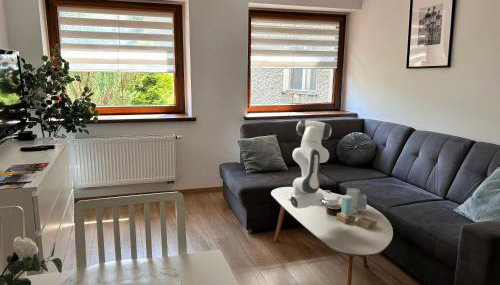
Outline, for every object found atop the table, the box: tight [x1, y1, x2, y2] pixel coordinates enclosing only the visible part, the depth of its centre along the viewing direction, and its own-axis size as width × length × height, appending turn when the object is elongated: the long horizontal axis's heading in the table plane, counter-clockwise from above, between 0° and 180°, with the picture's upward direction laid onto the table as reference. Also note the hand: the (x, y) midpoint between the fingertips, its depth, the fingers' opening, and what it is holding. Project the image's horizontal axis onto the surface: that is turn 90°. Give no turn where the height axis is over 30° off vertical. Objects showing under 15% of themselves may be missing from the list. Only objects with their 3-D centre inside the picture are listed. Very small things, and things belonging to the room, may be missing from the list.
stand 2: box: [356, 215, 378, 230], centre depth 226 cm, size 8×8×4 cm
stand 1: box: [336, 212, 356, 225], centre depth 233 cm, size 8×8×4 cm
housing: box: [339, 194, 353, 217], centre depth 231 cm, size 5×5×12 cm
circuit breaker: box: [345, 187, 370, 215], centre depth 247 cm, size 8×14×15 cm, turn 78°
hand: (334, 194), depth 225 cm, fingers open, 8 cm apart
